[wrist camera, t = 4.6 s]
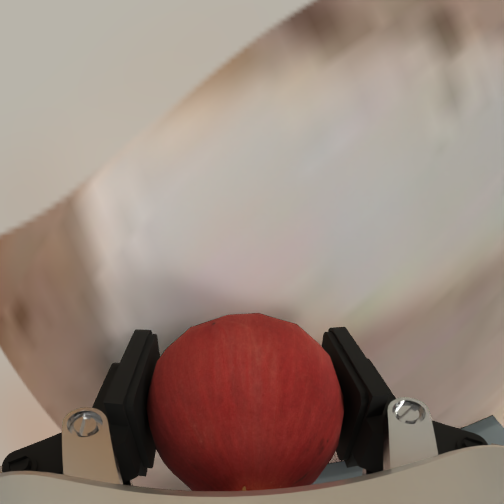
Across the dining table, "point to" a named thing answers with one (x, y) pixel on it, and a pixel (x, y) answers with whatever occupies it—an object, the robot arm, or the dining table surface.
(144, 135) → the dining table surface
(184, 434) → the red round fruit
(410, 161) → the dining table surface
